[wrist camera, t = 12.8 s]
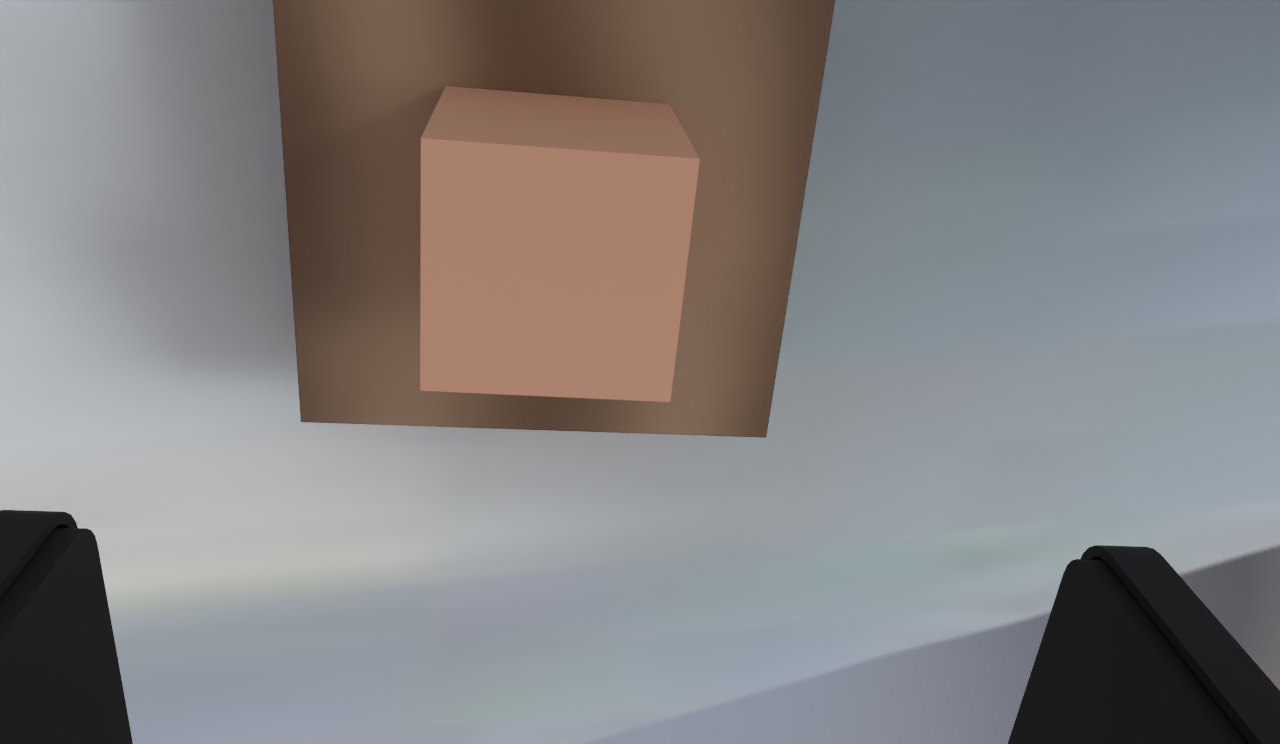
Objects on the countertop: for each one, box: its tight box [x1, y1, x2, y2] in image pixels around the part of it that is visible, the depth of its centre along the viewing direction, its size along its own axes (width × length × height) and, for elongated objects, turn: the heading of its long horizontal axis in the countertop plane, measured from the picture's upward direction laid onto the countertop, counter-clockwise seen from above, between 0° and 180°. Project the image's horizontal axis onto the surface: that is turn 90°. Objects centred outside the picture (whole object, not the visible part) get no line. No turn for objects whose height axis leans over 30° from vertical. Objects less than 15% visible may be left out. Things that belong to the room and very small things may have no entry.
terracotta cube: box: [420, 86, 700, 402], centre depth 22 cm, size 5×5×5 cm
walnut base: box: [273, 0, 835, 437], centre depth 26 cm, size 12×12×4 cm
